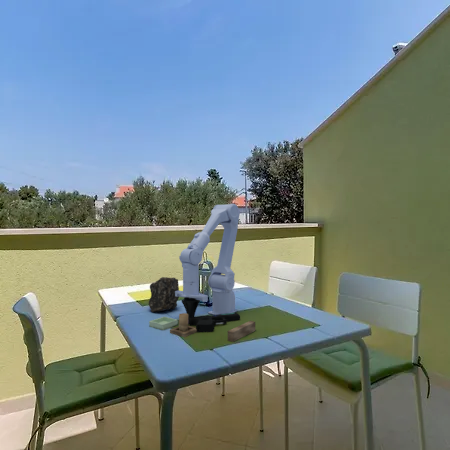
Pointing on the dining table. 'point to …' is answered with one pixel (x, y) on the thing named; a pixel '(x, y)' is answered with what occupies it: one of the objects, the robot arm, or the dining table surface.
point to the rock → (163, 294)
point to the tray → (163, 323)
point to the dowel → (183, 322)
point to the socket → (184, 334)
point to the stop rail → (241, 331)
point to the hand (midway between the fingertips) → (191, 318)
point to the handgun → (211, 321)
